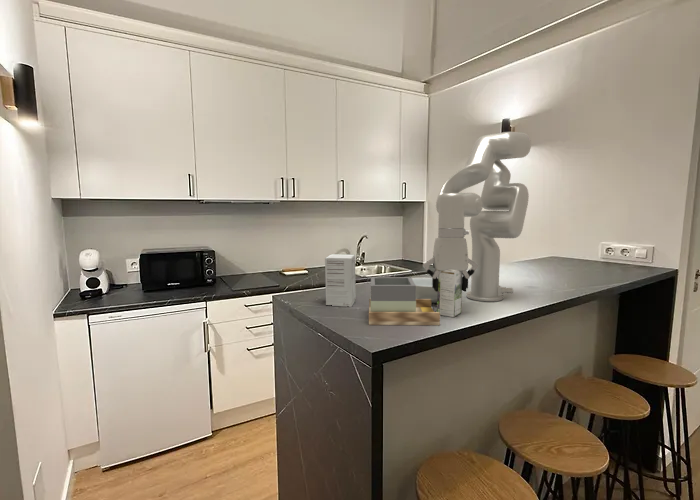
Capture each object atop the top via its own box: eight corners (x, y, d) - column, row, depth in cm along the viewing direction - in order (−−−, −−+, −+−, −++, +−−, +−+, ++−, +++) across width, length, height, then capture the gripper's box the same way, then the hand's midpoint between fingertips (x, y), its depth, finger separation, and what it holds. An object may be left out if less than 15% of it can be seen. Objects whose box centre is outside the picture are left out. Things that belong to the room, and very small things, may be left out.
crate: (411, 306, 117) (411, 277, 116) (415, 318, 104) (416, 285, 103) (370, 306, 118) (370, 277, 117) (370, 318, 105) (370, 285, 104)
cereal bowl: (454, 307, 120) (454, 286, 120) (403, 305, 124) (403, 285, 123) (450, 295, 137) (450, 277, 136) (405, 294, 140) (406, 276, 139)
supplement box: (331, 299, 134) (330, 253, 132) (356, 299, 132) (355, 254, 130) (325, 306, 124) (324, 257, 122) (351, 307, 123) (351, 257, 121)
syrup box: (444, 310, 117) (445, 266, 116) (462, 313, 113) (462, 267, 112) (436, 314, 113) (436, 268, 111) (454, 317, 109) (455, 270, 107)
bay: (430, 309, 118) (430, 298, 118) (439, 325, 102) (439, 313, 102) (369, 309, 120) (369, 298, 119) (368, 324, 104) (368, 312, 103)
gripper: (476, 233, 113) (475, 288, 115) (420, 233, 115) (419, 288, 117) (483, 234, 106) (482, 293, 108) (423, 235, 107) (423, 293, 109)
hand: (449, 290), depth 112 cm, fingers closed on syrup box, 8 cm apart
